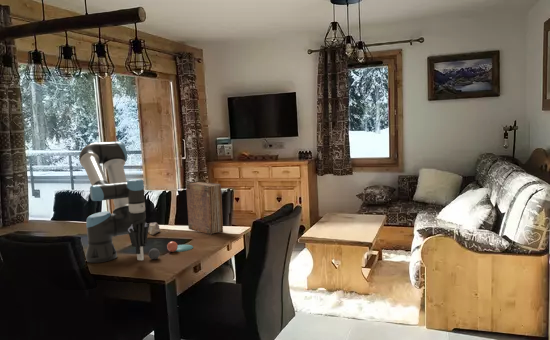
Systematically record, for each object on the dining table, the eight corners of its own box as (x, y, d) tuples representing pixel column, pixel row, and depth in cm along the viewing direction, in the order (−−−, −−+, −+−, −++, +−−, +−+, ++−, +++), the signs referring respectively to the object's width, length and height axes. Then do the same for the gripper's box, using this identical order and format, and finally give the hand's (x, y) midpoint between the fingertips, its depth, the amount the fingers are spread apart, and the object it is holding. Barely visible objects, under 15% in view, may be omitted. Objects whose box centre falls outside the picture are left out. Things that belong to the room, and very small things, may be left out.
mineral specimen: (162, 234, 278) (162, 224, 277) (151, 235, 274) (150, 225, 273) (157, 230, 289) (156, 220, 288) (145, 231, 285) (145, 222, 284)
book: (223, 232, 277) (221, 184, 274) (210, 235, 271) (208, 185, 268) (200, 226, 296) (198, 181, 292) (188, 228, 289) (185, 182, 286)
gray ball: (152, 261, 221) (151, 250, 221) (146, 259, 225) (146, 248, 225) (162, 259, 225) (161, 248, 225) (156, 256, 229) (156, 246, 229)
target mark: (183, 252, 235) (183, 252, 235) (163, 250, 241) (163, 249, 241) (198, 246, 247) (198, 245, 247) (179, 244, 253) (179, 243, 253)
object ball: (170, 253, 234) (170, 243, 233) (165, 251, 238) (164, 241, 237) (180, 251, 238) (179, 241, 237) (174, 249, 242) (174, 239, 241)
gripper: (133, 214, 207) (136, 264, 209) (152, 209, 218) (155, 256, 220) (121, 213, 210) (124, 262, 212) (141, 208, 222) (144, 255, 224)
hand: (140, 259), depth 216 cm, fingers closed
